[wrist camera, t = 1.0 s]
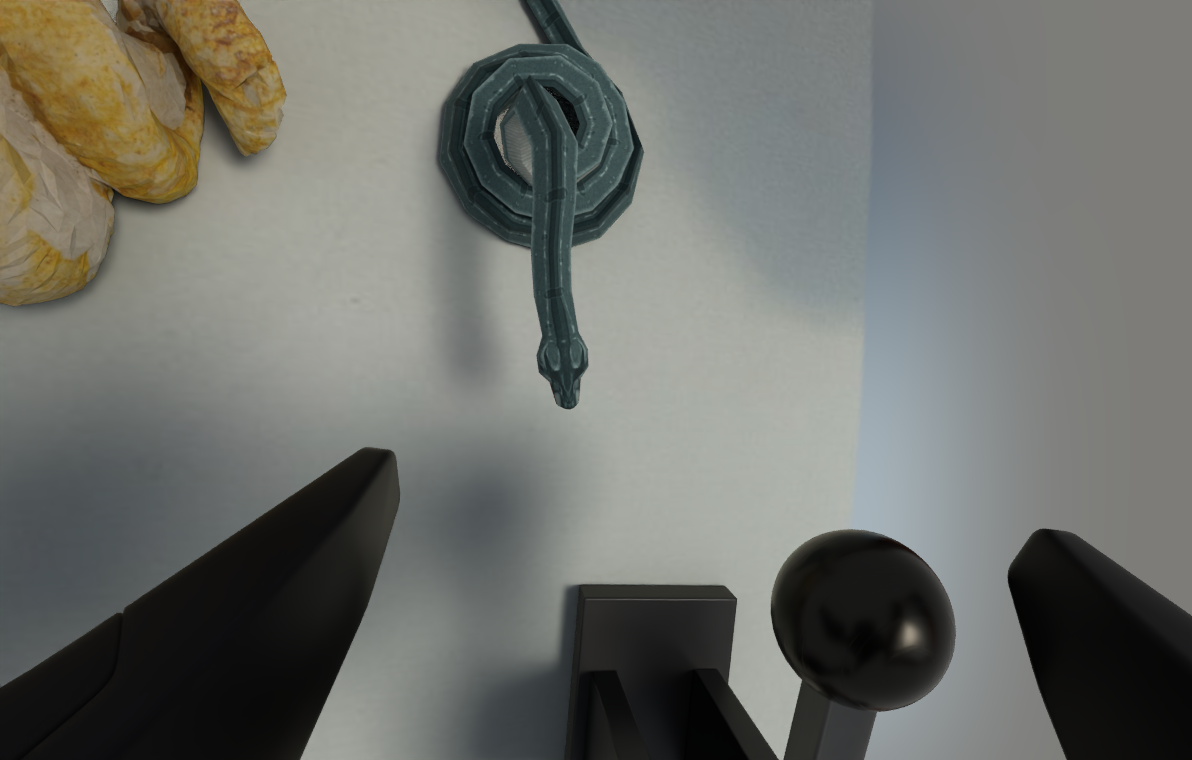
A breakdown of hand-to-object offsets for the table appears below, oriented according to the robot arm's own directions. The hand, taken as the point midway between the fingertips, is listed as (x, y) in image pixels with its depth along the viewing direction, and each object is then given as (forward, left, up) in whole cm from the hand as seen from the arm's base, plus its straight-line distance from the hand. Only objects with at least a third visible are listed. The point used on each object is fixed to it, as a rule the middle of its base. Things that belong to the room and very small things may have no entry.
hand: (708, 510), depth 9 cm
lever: (-7, -4, -5) cm, 9 cm away
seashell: (+7, +17, -15) cm, 23 cm away
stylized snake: (+10, +2, -15) cm, 18 cm away
